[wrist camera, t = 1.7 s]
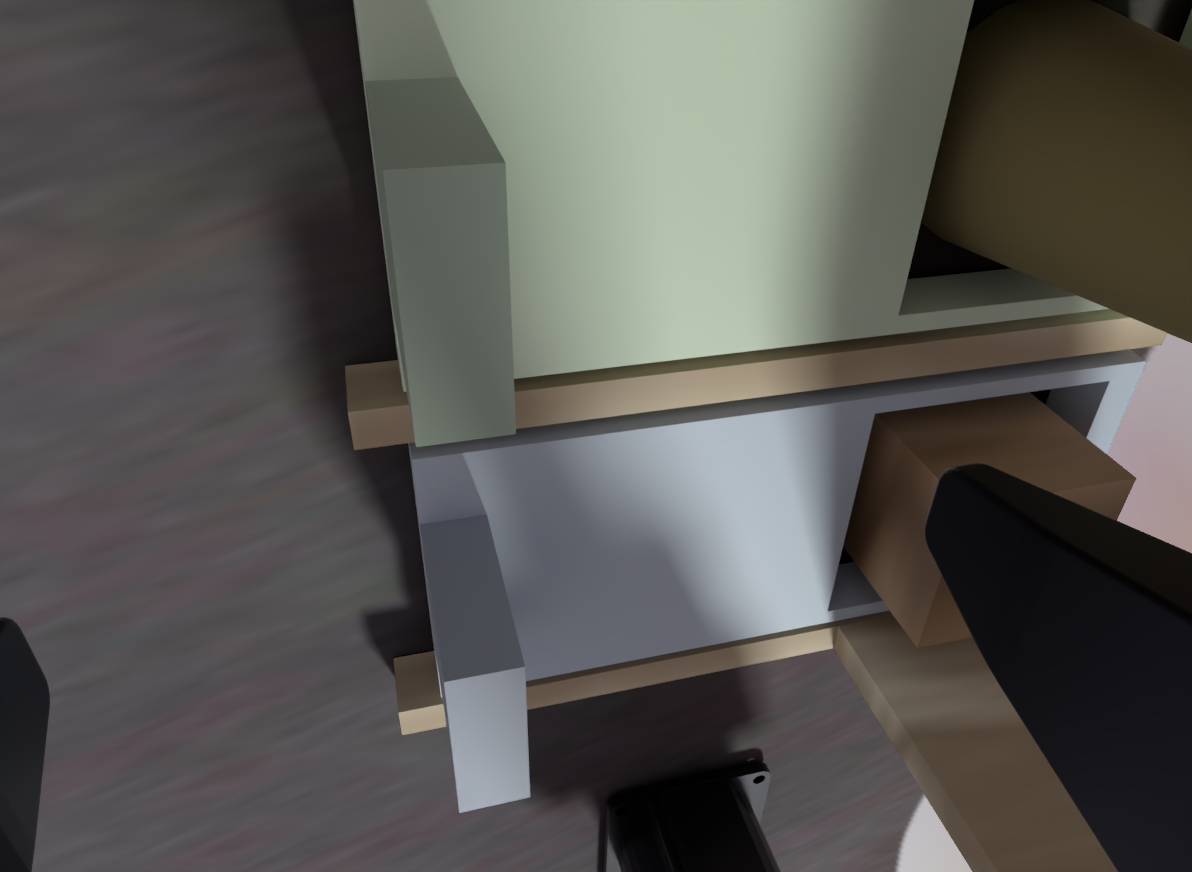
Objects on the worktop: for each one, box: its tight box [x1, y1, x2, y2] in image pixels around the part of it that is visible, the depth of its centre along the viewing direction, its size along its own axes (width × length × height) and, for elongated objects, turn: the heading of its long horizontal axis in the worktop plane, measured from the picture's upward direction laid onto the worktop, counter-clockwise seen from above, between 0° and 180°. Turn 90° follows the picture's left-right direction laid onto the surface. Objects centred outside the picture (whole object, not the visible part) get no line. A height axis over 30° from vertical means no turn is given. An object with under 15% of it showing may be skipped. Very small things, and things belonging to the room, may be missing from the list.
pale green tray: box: [353, 0, 1192, 447], centre depth 17 cm, size 8×20×7 cm, turn 88°
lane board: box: [345, 309, 1167, 872], centre depth 17 cm, size 21×22×14 cm
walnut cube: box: [843, 392, 1136, 648], centre depth 25 cm, size 5×5×5 cm
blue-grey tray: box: [408, 349, 1147, 813], centre depth 23 cm, size 8×20×7 cm, turn 88°
